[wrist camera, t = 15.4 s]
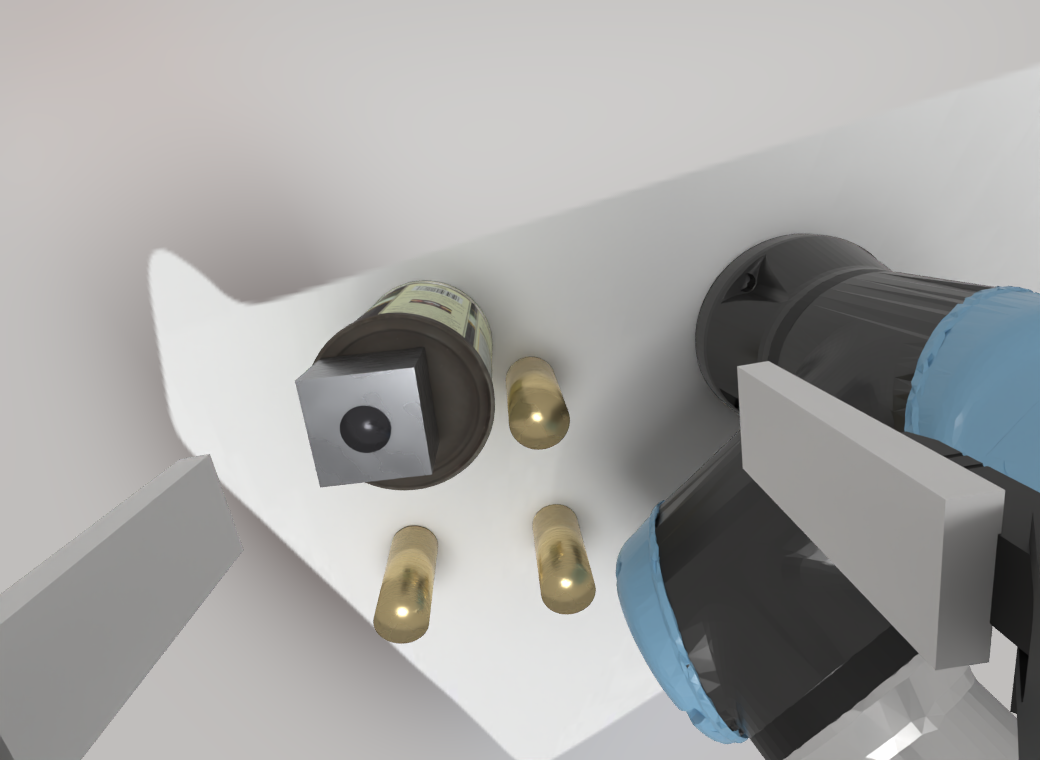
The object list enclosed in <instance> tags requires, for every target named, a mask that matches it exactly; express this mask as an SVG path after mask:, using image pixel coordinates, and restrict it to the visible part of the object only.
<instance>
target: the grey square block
mask: <svg viewBox="0 0 1040 760" xmlns="http://www.w3.org/2000/svg"><path fill="white" fill-rule="evenodd" d="M295 383H296V387H297V391H298V395H299V400H300V404H301V408H302V412H303V417H304V421H305V425H306V429H307V433H308V438H309V442H310V446H311V450H312V455H313V459H314V463H315V467H316V471H317V476H318V480H319V484H320V487H328V486H336V485H345V484H354V483H362V482H371V481H380V480H388V479H397V478H406V477H415V476H423V475H432V473H433V468H434V464H435V459H436V455H437V451H438V446H439V435H438V429H437V423H436V417H435V410H434V404H433V398H432V392H431V385H430V379H429V373H428V367H427V360H426V354H425V348H424V347H418V348H409V349H400V350H391V351H382V352H373V353H364V354H355V355H346V356H337V357H328V358H321V359H319V360H318V361H317V362H316V363H315V364H314V365H313V366H311V367H310V368H309V369H308V370H307V371H306V372H305V373H304V374H302V375H301V376H300V377H299V378H298V379H297V380H296V381H295Z"/></svg>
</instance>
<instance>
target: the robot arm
mask: <svg viewBox="0 0 1040 760" xmlns="http://www.w3.org/2000/svg"><path fill="white" fill-rule="evenodd" d="M695 341H696V354H697V359H698V363H699V367H700V369H701V372H702V374H703V376H704V378H705V380H706V382H707V384H708V385H709V387H710V388H711V389H712V391H713V392H714V393H715V394H716V395H717V396H718V397H719V398H720V399H721V400H722V401H723V402H725V403H726V404H727V405H728V406H729V407H731V408H732V409H733V410H734V411H736V412H737V413H739V414H740V427H741V430H740V431H739V432H738V433H737V434H736V435H735V436H734V437H732V438H731V439H730V440H729V441H728V442H727V443H726V444H725V445H724V446H723V447H722V448H721V449H720V450H719V451H718V452H717V453H716V454H715V455H714V456H713V457H712V458H710V459H709V460H708V461H707V462H706V463H705V464H704V465H703V466H702V467H701V468H700V469H699V470H698V471H697V472H696V473H695V474H694V475H693V476H692V477H691V478H690V479H688V480H687V481H686V482H685V483H684V484H683V485H682V486H681V487H680V488H679V489H678V490H677V491H675V492H674V493H673V494H672V495H671V496H670V497H669V498H668V499H667V500H666V501H665V500H663V501H661V502H660V503H659V504H658V505H657V506H655V507H654V509H653V511H652V513H651V515H650V517H649V518H648V519H647V520H646V521H645V522H644V523H643V524H642V525H641V527H640V528H639V529H638V530H637V531H636V532H635V533H634V534H633V535H632V536H631V537H630V538H629V539H628V540H627V541H626V543H625V544H624V545H623V547H622V549H621V551H620V553H619V555H618V559H617V564H616V578H617V592H618V597H619V600H620V604H621V608H622V611H623V614H624V617H625V619H626V622H627V624H628V627H629V629H630V631H631V634H632V636H633V638H634V640H635V642H636V644H637V646H638V648H639V650H640V652H641V654H642V656H643V658H644V659H645V661H646V663H647V665H648V666H649V668H650V670H651V671H652V673H653V675H654V676H655V678H656V679H657V681H658V682H659V684H660V685H661V687H662V688H663V690H664V691H665V692H666V694H667V695H668V696H669V698H670V699H671V700H672V702H673V703H674V704H675V705H676V706H677V707H678V709H679V710H682V711H686V712H687V714H688V716H689V718H690V720H691V721H692V723H693V725H694V726H695V727H696V728H697V729H699V730H700V731H701V732H702V733H703V734H705V735H706V736H708V737H709V738H711V739H713V740H714V741H717V742H720V743H723V744H731V743H735V742H736V743H742V742H744V741H746V740H747V739H748V738H750V739H751V741H752V742H753V743H754V745H755V746H756V748H757V749H758V750H759V752H760V753H761V754H762V756H763V757H764V758H765V760H1040V294H1039V293H1037V292H1036V293H1033V291H1031V290H1029V289H1024V288H1020V287H1012V286H1007V287H999V286H997V287H992V286H986V285H979V284H972V283H966V282H959V281H953V280H946V279H939V278H933V277H926V276H920V275H913V274H906V273H900V272H893V271H891V270H890V269H889V268H888V267H886V266H885V265H884V264H882V263H881V262H880V261H878V260H877V259H876V258H875V257H874V256H873V255H872V254H871V253H869V252H868V251H867V250H865V249H864V248H862V247H860V246H858V245H856V244H854V243H852V242H849V241H847V240H844V239H841V238H837V237H832V236H825V235H815V234H791V235H785V236H780V237H777V238H773V239H770V240H768V241H765V242H763V243H760V244H758V245H756V246H754V247H753V248H751V249H749V250H748V251H746V252H745V253H743V254H742V255H740V256H739V257H738V258H737V259H735V260H734V261H733V262H732V263H731V264H730V265H729V266H728V267H727V268H726V269H725V270H724V271H723V272H722V273H721V274H720V276H719V277H718V278H717V279H716V281H715V282H714V284H713V285H712V287H711V289H710V290H709V292H708V294H707V296H706V298H705V300H704V302H703V305H702V307H701V310H700V313H699V317H698V321H697V327H696V340H695ZM243 550H244V549H243V546H242V544H241V541H240V538H239V535H238V533H237V530H236V527H235V524H234V521H233V518H232V515H231V512H230V510H229V507H228V504H227V501H226V498H225V496H224V493H223V490H222V487H221V484H220V481H219V479H218V476H217V473H216V470H215V467H214V464H213V462H212V459H211V456H210V454H208V455H202V456H196V457H190V458H184V459H179V460H178V461H176V463H174V464H173V465H171V466H170V467H169V468H167V469H166V470H165V471H163V472H162V473H161V474H159V475H158V476H157V477H155V478H154V479H153V480H151V481H150V482H149V483H147V484H146V485H145V486H143V487H142V488H141V489H139V490H138V491H137V492H135V493H134V494H133V495H131V496H130V497H129V498H128V499H126V500H125V501H124V502H122V503H121V504H119V505H118V506H117V507H115V508H114V509H113V510H111V511H110V512H109V513H107V514H106V515H105V516H103V517H102V518H101V519H99V520H98V521H97V522H95V523H94V524H93V525H92V526H90V527H89V528H88V529H86V530H85V531H84V532H82V533H81V534H80V535H78V536H77V537H76V538H74V539H73V540H72V541H70V542H69V543H68V544H66V545H65V546H64V547H62V548H61V549H60V550H58V551H57V552H56V553H54V554H53V555H52V556H50V557H49V558H48V559H46V560H45V561H44V562H42V563H41V564H40V565H38V566H37V567H36V568H34V569H33V570H32V571H30V572H29V573H28V574H27V575H25V576H24V577H22V578H21V579H20V580H19V581H17V582H16V583H14V584H13V585H12V586H11V587H9V588H8V589H7V590H5V591H4V592H3V593H1V594H0V760H81V759H82V758H83V757H84V755H85V754H86V753H87V751H88V750H89V749H90V747H91V746H92V745H93V744H94V742H95V741H96V740H97V738H98V737H99V736H100V735H101V733H102V732H103V731H104V729H105V728H106V727H107V726H108V724H109V723H110V722H111V720H112V719H113V718H114V717H115V715H116V714H117V713H118V711H119V710H120V709H121V707H122V706H123V705H124V704H125V702H126V701H127V700H128V699H129V697H130V696H131V695H132V693H133V692H134V691H135V690H136V688H137V687H138V686H139V684H140V683H141V682H142V680H143V679H144V678H145V677H146V675H147V674H148V673H149V671H150V670H151V669H152V668H153V666H154V665H155V664H156V662H157V661H158V660H159V659H160V657H161V656H162V655H163V653H164V652H165V651H166V650H167V648H168V647H169V646H170V644H171V643H172V642H173V640H174V639H175V638H176V637H177V635H178V634H179V633H180V631H181V630H182V629H183V628H184V626H185V625H186V623H187V622H188V621H189V620H190V619H191V617H192V616H193V614H194V613H195V612H196V611H197V610H198V608H199V607H200V606H201V604H202V603H203V602H204V600H205V599H206V598H207V597H208V595H209V594H210V593H211V591H212V590H213V589H214V588H215V586H216V585H217V584H218V582H219V581H220V580H221V579H222V577H223V576H224V575H225V573H226V572H227V570H228V569H229V568H230V567H231V566H232V564H233V563H234V561H235V560H236V559H237V558H238V557H239V555H240V554H241V553H242V551H243ZM992 626H994V627H995V628H996V629H997V630H998V631H1000V632H1001V633H1002V634H1003V635H1004V636H1005V637H1007V638H1008V639H1009V640H1010V641H1011V642H1013V643H1014V644H1015V645H1016V646H1017V647H1018V648H1017V657H1016V666H1015V675H1014V684H1013V693H1012V702H1011V711H1009V710H1008V709H1006V708H1005V707H1004V706H1003V705H1002V704H1001V703H1000V702H999V701H998V700H997V699H996V698H995V697H994V696H993V695H992V694H991V693H990V692H989V691H988V690H987V689H985V688H984V687H983V686H982V685H981V684H980V683H979V682H978V681H977V680H976V678H975V676H974V675H973V673H972V671H971V669H970V667H969V665H973V664H980V663H987V662H989V657H990V646H991V636H992ZM1011 712H1013V713H1016V714H1017V718H1016V717H1015V716H1014V715H1013V714H1012V713H1011Z"/></svg>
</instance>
